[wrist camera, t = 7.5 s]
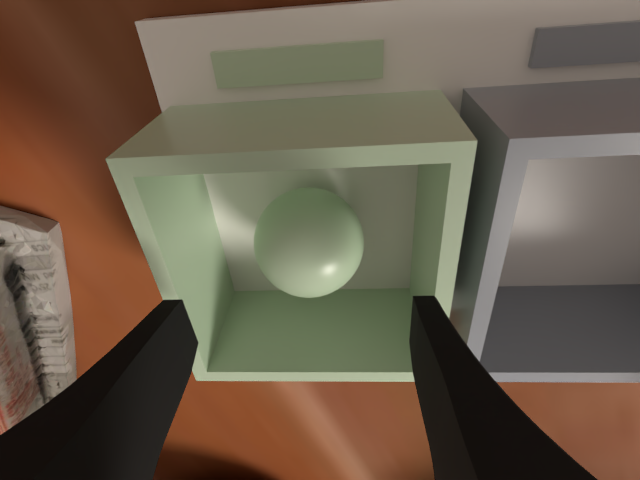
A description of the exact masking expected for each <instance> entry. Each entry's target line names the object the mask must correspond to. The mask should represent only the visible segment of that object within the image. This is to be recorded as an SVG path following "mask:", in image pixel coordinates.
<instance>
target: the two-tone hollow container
mask: <svg viewBox="0 0 640 480" xmlns="http://www.w3.org/2000/svg"><path fill="white" fill-rule="evenodd" d="M135 25H136V28H137V32H138V35H139V38H140V42H141V45H142V48H143V52H144V55H145V58H146V61H147V65H148V68H149V71H150V75H151V78H152V81H153V85H154V88H155V91H156V95H157V98H158V101H159V105H160V108H161V111H162V113H161V114H160V115H159V116H157V117H156V118H155V119H154V120H152V121H151V122H150V123H149V124H147V125H146V126H145V127H144V128H143V129H141V130H140V131H139V132H138V133H136V134H135V135H134V136H133V137H132V138H130V139H129V140H128V141H127V142H125V143H124V144H123V145H122V146H120V147H119V148H118V149H117V150H116V151H114V152H113V153H112V154H111V155H109V156H108V157H107V158H106V159H105V160H106V162H107V164H108V167H109V169H110V172H111V174H112V177H113V179H114V181H115V184H116V186H117V189H118V191H119V194H120V196H121V198H122V201H123V203H124V206H125V208H126V211H127V213H128V215H129V218H130V220H131V223H132V225H133V228H134V230H135V233H136V235H137V237H138V240H139V242H140V245H141V247H142V250H143V252H144V254H145V257H146V259H147V262H148V264H149V267H150V269H151V271H152V274H153V276H154V279H155V281H156V284H157V286H158V288H159V291H160V293H161V296H162V298H163V300H177V299H182V300H183V303H184V305H185V308H186V311H187V313H188V316H189V319H190V321H191V324H192V327H193V329H194V332H195V335H196V337H197V340H198V347H197V352H196V356H195V360H194V364H193V368H192V371H193V374H194V376H195V378H196V381H381V382H415V381H414V376H413V370H412V362H411V353H410V344H409V338H410V326H411V313H412V301H413V296H435V297H436V298H437V299H438V301H439V303H440V305H441V307H442V308H443V310H444V312H445V313H446V315H447V316H448V318H449V320H450V321H451V323H452V324H453V326H454V327H455V329H456V330H457V332H458V333H459V335H460V336H461V338H462V339H463V340H464V342H465V343H466V344H467V346H468V347H469V349H470V350H471V351H472V353H473V354H474V355H475V357H476V358H477V359H478V360H479V362H480V363H481V364H482V366H483V367H484V368H485V369H486V371H487V372H488V373H489V374H490V375H491V377H492V378H493V379H494V380H495V381H496V382H640V0H364V1H352V2H340V3H328V4H315V5H303V6H291V7H279V8H267V9H254V10H242V11H230V12H218V13H206V14H193V15H181V16H169V17H157V18H146V19H142V20H139V21H135ZM305 187H314V188H320V189H324V190H327V191H330V192H332V193H334V194H336V195H338V196H339V197H341V198H342V199H344V200H345V201H346V202H347V203H348V204H349V205H350V206H351V208H352V209H353V210H354V211H355V213H356V215H357V216H358V219H359V221H360V223H361V226H362V230H363V235H364V251H363V255H362V259H361V262H360V264H359V267H358V268H357V270H356V272H355V274H354V275H353V276H352V277H351V279H350V280H349V281H348V282H347V283H346V284H345V285H344V286H342V287H341V288H339V289H338V290H336V291H334V292H332V293H330V294H327V295H324V296H320V297H313V298H304V297H297V296H293V295H290V294H288V293H286V292H284V291H282V290H280V289H278V288H277V287H276V286H274V285H273V284H272V283H271V282H270V281H269V280H268V279H267V278H266V277H265V275H264V274H263V272H262V271H261V269H260V267H259V265H258V263H257V260H256V257H255V252H254V233H255V228H256V225H257V222H258V220H259V218H260V216H261V214H262V212H263V211H264V210H265V208H266V207H267V206H268V205H269V204H270V203H271V202H272V201H273V200H274V199H276V198H277V197H278V196H280V195H282V194H283V193H285V192H288V191H290V190H293V189H298V188H305Z"/></svg>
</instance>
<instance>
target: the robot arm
mask: <svg viewBox="0 0 640 480" xmlns="http://www.w3.org/2000/svg"><path fill="white" fill-rule="evenodd" d="M409 344H410V353H411V362H412V370H413V376H414V381H415V385H416V389H417V394H418V398H419V403H420V407H421V411H422V416H423V420H424V424H425V429H426V433H427V437H428V442H429V446H430V451H431V457H432V462H433V469H434V476H435V480H597V479H596V478H595V477H594V476H593V475H591V474H590V473H589V472H588V471H587V470H585V469H584V468H583V467H582V466H581V465H579V464H578V463H577V462H576V461H575V460H574V459H573V458H572V457H570V456H569V455H568V454H567V453H566V452H565V451H564V450H563V449H562V448H561V447H559V446H558V445H557V444H556V443H555V442H554V441H553V440H552V439H551V438H550V437H549V436H547V435H546V434H545V433H544V432H543V431H542V430H541V429H540V428H539V427H538V426H537V425H536V424H535V423H534V422H533V421H532V420H531V419H530V418H529V417H528V416H527V415H526V414H525V413H524V412H523V411H522V410H521V409H520V408H519V407H518V406H517V405H516V404H515V403H514V402H513V400H512V399H511V398H510V397H509V396H508V395H507V394H506V393H505V392H504V391H503V389H502V388H501V387H500V386H499V385H498V384H497V383H496V381H495V380H494V379H493V378H492V377H491V375H490V374H489V373H488V372H487V371H486V369H485V368H484V367H483V366H482V364H481V363H480V362H479V360H478V359H477V358H476V357H475V355H474V354H473V353H472V351H471V350H470V349H469V347H468V346H467V344H466V343H465V342H464V340H463V339H462V338H461V336H460V335H459V333H458V332H457V330H456V329H455V327H454V326H453V324H452V323H451V321H450V320H449V318H448V316H447V315H446V313H445V312H444V310H443V308H442V307H441V305H440V303H439V301H438V299H437V298H436V297H435V296H413V301H412V313H411V326H410V338H409ZM197 347H198V340H197V337H196V335H195V332H194V329H193V327H192V324H191V321H190V319H189V316H188V313H187V311H186V308H185V305H184V303H183V300H182V299H177V300H163V301H162V302H161V303H160V304H159V305H158V306H157V307H156V308H154V309H153V310H152V311H151V312H150V313H149V314H148V315H147V316H146V317H145V318H144V319H143V320H142V321H141V322H140V323H139V324H138V325H137V326H136V327H135V328H134V329H133V330H132V331H131V332H130V333H128V334H127V335H126V336H125V337H124V338H123V339H122V340H121V341H120V342H119V343H118V344H117V345H116V346H115V347H114V348H113V349H111V350H110V351H109V352H108V353H107V354H106V355H105V356H104V357H102V358H101V359H100V360H99V361H98V362H97V363H96V364H94V365H93V366H92V367H91V368H90V369H89V370H88V371H86V372H85V373H84V374H83V375H82V376H81V377H79V378H78V379H77V380H76V381H75V382H73V383H72V384H71V385H70V386H68V387H67V388H66V389H65V390H63V391H62V392H61V393H59V394H58V395H57V396H55V397H54V398H53V399H51V400H50V401H49V402H47V403H46V404H45V405H43V406H42V407H41V408H39V409H38V410H36V411H35V412H33V413H32V414H30V415H29V416H28V417H26V418H25V419H23V420H22V421H20V422H19V423H17V424H16V425H14V426H13V427H11V428H10V429H8V430H7V431H6V432H4V433H2V434H1V435H0V480H152V479H153V476H154V472H155V469H156V465H157V462H158V459H159V455H160V452H161V450H162V447H163V444H164V441H165V438H166V436H167V433H168V431H169V428H170V426H171V423H172V421H173V418H174V416H175V413H176V411H177V408H178V406H179V403H180V401H181V398H182V395H183V393H184V390H185V388H186V385H187V382H188V380H189V377H190V374H191V371H192V368H193V364H194V360H195V356H196V352H197Z"/></svg>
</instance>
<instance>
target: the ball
mask: <svg viewBox="0 0 640 480" xmlns="http://www.w3.org/2000/svg"><path fill="white" fill-rule="evenodd" d="M363 251H364V235H363V230H362V226H361V223H360V221H359V219H358V216H357V215H356V213H355V211H354V210H353V209H352V208H351V206H350V205H349V204H348V203H347V202H346V201H345V200H344V199H342V198H341V197H339V196H338V195H336V194H334V193H332V192H330V191H327V190H324V189H320V188H314V187H305V188H298V189H293V190H290V191H288V192H285V193H283V194H282V195H280V196H278V197H277V198H276V199H274V200H273V201H272V202H271V203H270V204H269V205H268V206H267V207H266V208H265V210H264V211H263V212H262V214H261V216H260V218H259V220H258V222H257V225H256V228H255V233H254V252H255V257H256V260H257V263H258V265H259V267H260V269H261V271H262V272H263V274H264V275H265V277H266V278H267V279H268V280H269V281H270V282H271V283H272V284H273V285H274V286H276V287H277V288H278V289H280V290H282V291H284V292H286V293H288V294H290V295H293V296H297V297H304V298H313V297H320V296H324V295H327V294H330V293H332V292H334V291H336V290H338V289H339V288H341V287H342V286H344V285H345V284H346V283H347V282H348V281H349V280H350V279H351V277H352V276H353V275H354V274H355V272H356V270H357V268H358V267H359V264H360V262H361V259H362V255H363Z"/></svg>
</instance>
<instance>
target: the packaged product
mask: <svg viewBox="0 0 640 480" xmlns="http://www.w3.org/2000/svg"><path fill="white" fill-rule="evenodd" d="M75 381H76V356H75V342H74V326H73V315H72V306H71V295H70V288H69V281H68V274H67V267H66V260H65V252H64V245H63V238H62V232H61V228H60V224H59V222H56V221H54V220H51V219H48V218H44V217H40V216H37V215H33V214H29V213H26V212H22V211H18V210H15V209H11V208H7V207H4V206H0V435H1V434H2V433H4V432H6V431H7V430H8V429H10V428H11V427H13V426H14V425H16V424H17V423H19V422H20V421H22V420H23V419H25V418H26V417H28V416H29V415H30V414H32V413H33V412H35V411H36V410H38V409H39V408H41V407H42V406H43V405H45V404H46V403H47V402H49V401H50V400H51V399H53V398H54V397H55V396H57V395H58V394H59V393H61V392H62V391H63V390H65V389H66V388H67V387H68V386H70V385H71V384H72V383H73V382H75Z"/></svg>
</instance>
